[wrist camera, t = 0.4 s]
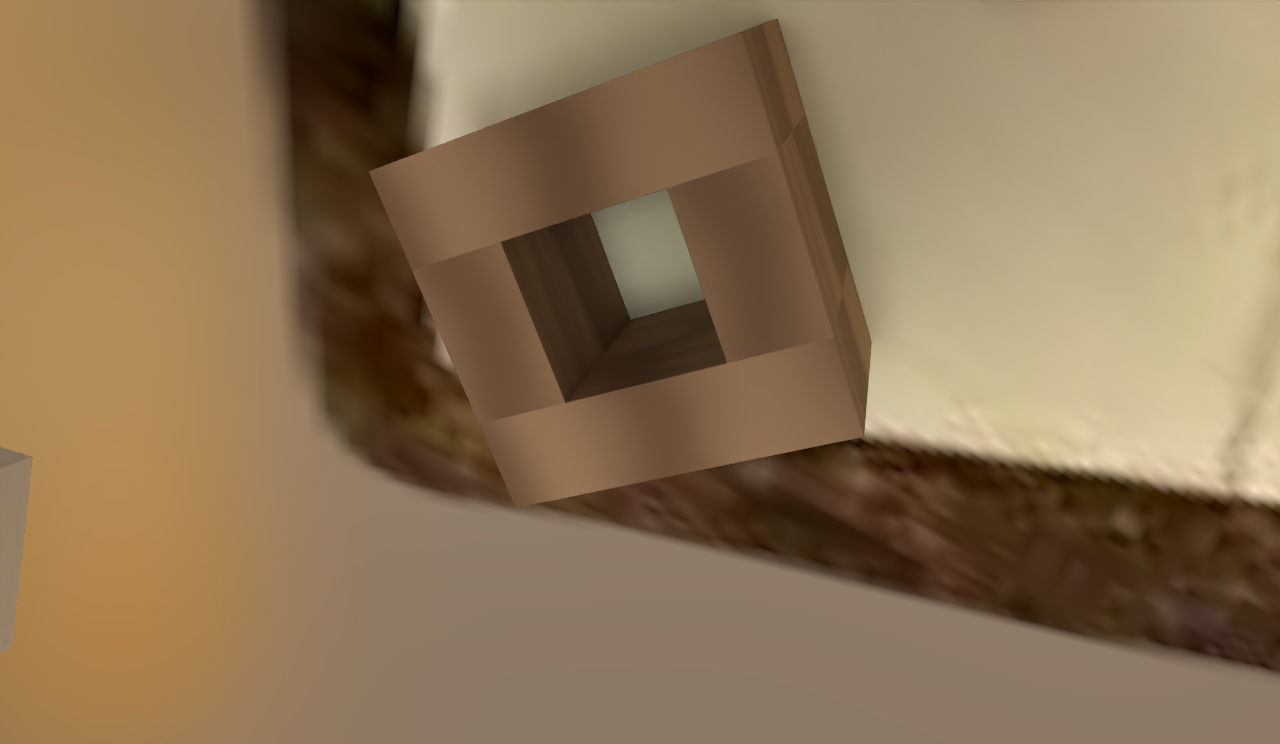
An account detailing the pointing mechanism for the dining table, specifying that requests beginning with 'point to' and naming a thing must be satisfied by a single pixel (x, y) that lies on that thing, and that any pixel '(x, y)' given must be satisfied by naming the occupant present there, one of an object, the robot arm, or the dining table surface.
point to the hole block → (588, 294)
